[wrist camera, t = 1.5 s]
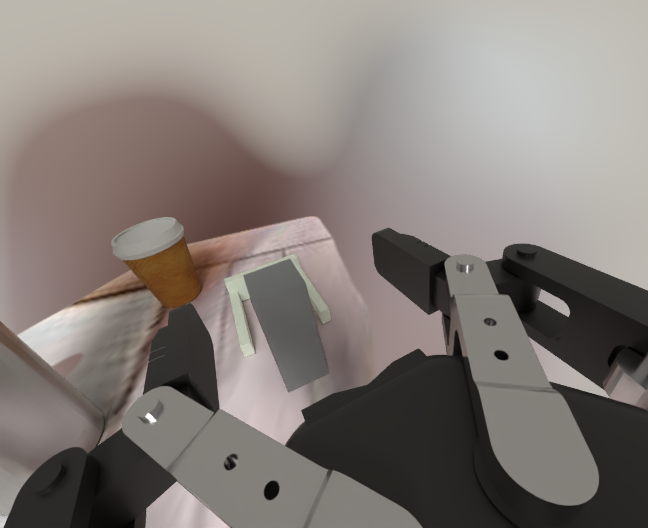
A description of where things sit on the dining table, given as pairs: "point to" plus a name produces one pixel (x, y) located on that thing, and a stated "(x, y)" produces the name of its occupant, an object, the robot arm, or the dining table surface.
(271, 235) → the dining table surface
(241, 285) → the mount
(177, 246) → the disposable coffee cup
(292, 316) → the tall gray pillar block
